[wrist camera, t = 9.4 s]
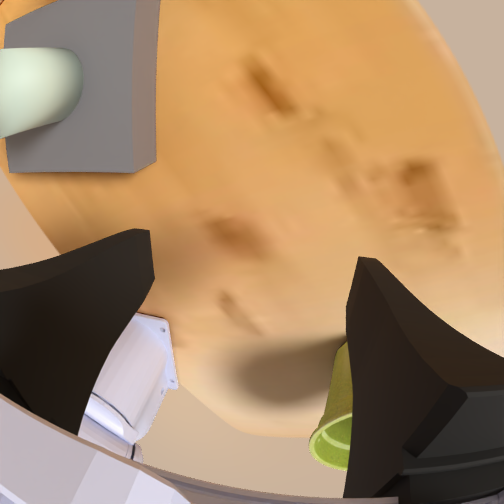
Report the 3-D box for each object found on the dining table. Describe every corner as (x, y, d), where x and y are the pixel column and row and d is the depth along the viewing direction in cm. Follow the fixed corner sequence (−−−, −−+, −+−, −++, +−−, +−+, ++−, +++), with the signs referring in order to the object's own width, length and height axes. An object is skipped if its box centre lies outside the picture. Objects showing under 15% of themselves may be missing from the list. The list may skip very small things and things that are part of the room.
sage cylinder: (86, 116, 16) (27, 131, 12) (33, 127, 17) (-21, 145, 13) (83, 38, 14) (23, 36, 9) (29, 59, 15) (-26, 65, 10)
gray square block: (156, 161, 20) (134, 172, 17) (34, 162, 22) (9, 172, 19) (161, -13, 14) (139, -25, 12) (32, 25, 16) (5, 24, 13)
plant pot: (303, 323, 24) (295, 418, 16) (424, 299, 21) (457, 389, 14) (324, 395, 28) (319, 476, 20) (422, 378, 25) (438, 458, 18)
